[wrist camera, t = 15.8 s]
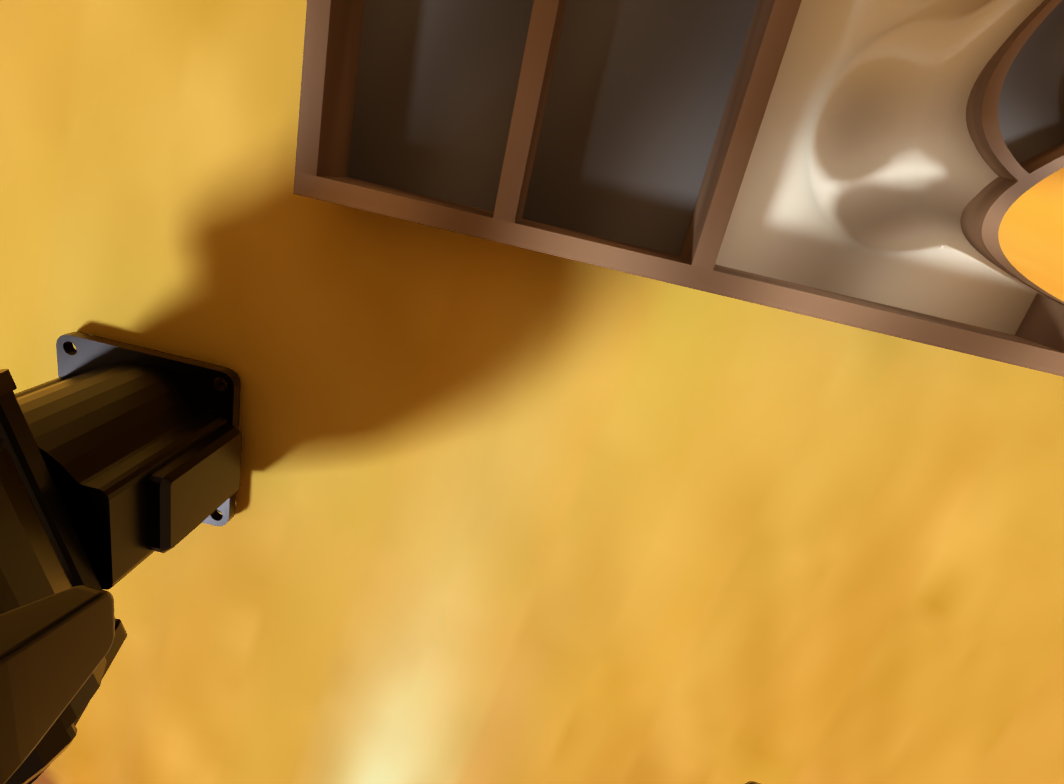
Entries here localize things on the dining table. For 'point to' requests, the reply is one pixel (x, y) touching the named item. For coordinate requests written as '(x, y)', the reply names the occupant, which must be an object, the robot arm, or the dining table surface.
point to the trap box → (638, 150)
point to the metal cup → (952, 141)
